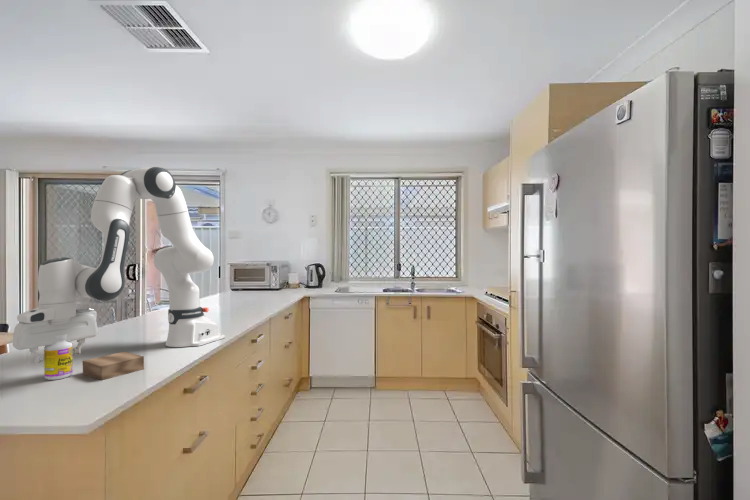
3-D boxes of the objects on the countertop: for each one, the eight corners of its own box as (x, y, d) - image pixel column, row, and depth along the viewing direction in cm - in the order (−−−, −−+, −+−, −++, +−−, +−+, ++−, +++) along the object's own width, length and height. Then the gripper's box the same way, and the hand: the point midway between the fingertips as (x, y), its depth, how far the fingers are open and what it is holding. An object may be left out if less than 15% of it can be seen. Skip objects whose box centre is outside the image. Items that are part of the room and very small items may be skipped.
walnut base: (124, 363, 132) (124, 351, 132) (143, 369, 125) (143, 356, 125) (82, 373, 121) (82, 360, 121) (101, 380, 115) (101, 366, 115)
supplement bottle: (57, 381, 115) (56, 337, 115) (38, 380, 116) (37, 336, 116) (78, 374, 121) (77, 332, 121) (60, 372, 123) (60, 331, 123)
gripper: (91, 306, 129) (92, 348, 129) (9, 316, 112) (10, 365, 112) (101, 307, 126) (102, 351, 126) (18, 318, 108) (19, 368, 108)
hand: (58, 357), depth 119 cm, fingers open, 8 cm apart
